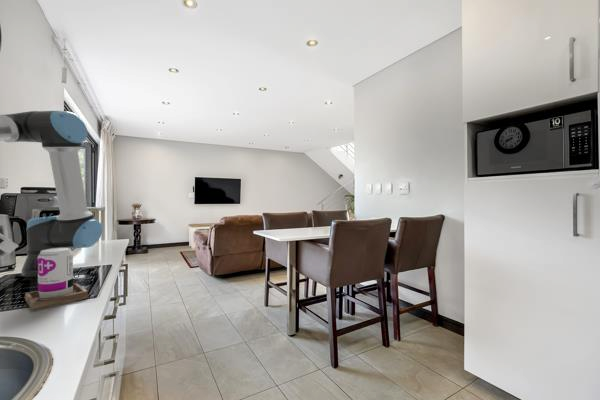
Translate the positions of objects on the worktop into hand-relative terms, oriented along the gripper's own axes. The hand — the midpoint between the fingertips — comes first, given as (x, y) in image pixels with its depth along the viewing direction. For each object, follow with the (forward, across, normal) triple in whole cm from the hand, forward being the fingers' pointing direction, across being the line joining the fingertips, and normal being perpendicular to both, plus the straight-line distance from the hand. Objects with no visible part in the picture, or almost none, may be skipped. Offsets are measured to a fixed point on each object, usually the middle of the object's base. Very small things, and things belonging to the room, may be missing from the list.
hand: (10, 246), depth 77 cm
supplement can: (+19, 0, -6) cm, 20 cm away
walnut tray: (+20, 0, -6) cm, 21 cm away
